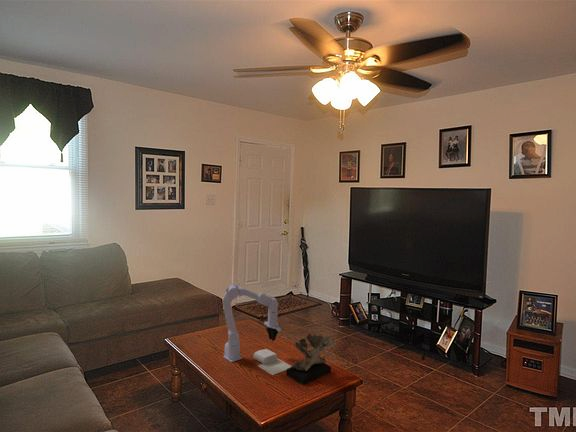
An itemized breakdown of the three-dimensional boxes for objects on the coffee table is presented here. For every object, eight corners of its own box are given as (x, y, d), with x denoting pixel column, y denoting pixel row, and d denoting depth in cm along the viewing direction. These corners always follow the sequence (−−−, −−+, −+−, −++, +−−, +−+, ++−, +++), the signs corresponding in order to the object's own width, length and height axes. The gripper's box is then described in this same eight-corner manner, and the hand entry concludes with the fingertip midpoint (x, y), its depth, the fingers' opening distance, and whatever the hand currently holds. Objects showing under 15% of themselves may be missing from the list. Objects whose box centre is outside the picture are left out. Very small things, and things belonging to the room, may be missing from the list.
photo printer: (277, 360, 224) (265, 353, 233) (277, 353, 223) (265, 347, 233) (264, 365, 217) (251, 358, 226) (263, 358, 217) (251, 351, 226)
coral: (318, 362, 223) (319, 327, 222) (343, 375, 208) (344, 337, 206) (285, 374, 207) (286, 336, 206) (310, 390, 192) (311, 349, 190)
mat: (257, 366, 217) (257, 365, 217) (277, 358, 226) (277, 358, 226) (272, 375, 206) (272, 375, 206) (293, 367, 216) (293, 367, 216)
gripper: (285, 319, 225) (284, 341, 226) (270, 313, 236) (270, 334, 237) (276, 322, 221) (275, 344, 222) (261, 315, 232) (261, 337, 233)
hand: (272, 339), depth 229 cm, fingers closed
